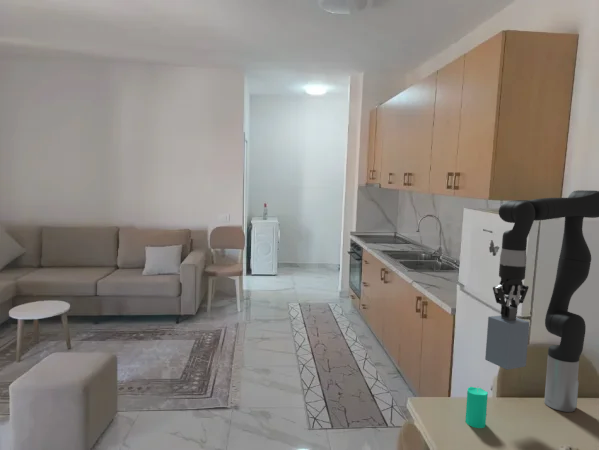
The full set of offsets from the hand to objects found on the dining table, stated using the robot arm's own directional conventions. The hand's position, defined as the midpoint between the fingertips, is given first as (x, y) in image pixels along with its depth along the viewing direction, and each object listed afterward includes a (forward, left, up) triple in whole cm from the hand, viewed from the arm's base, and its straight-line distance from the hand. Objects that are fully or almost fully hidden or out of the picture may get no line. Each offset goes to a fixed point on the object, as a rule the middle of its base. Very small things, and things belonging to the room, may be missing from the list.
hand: (508, 316), depth 136 cm
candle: (+11, 0, -34) cm, 35 cm away
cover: (0, 0, -15) cm, 15 cm away
